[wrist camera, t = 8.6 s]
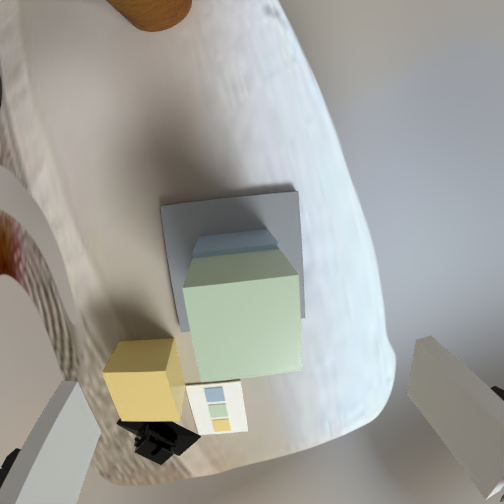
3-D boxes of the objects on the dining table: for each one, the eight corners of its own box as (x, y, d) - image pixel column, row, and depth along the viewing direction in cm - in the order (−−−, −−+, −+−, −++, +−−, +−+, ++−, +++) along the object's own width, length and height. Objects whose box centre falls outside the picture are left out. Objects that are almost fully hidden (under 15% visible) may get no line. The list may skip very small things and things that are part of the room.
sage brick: (192, 258, 22) (182, 288, 16) (279, 248, 22) (298, 274, 16) (205, 335, 23) (201, 382, 18) (284, 325, 24) (302, 369, 18)
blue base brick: (198, 236, 28) (192, 253, 22) (267, 228, 28) (279, 243, 22) (207, 300, 29) (204, 330, 23) (272, 293, 29) (284, 321, 24)
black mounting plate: (215, 435, 35) (215, 461, 31) (185, 461, 36) (183, 485, 32) (127, 387, 32) (117, 412, 28) (103, 418, 33) (94, 442, 29)
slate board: (161, 205, 28) (160, 206, 27) (296, 191, 28) (298, 191, 27) (182, 328, 30) (181, 332, 30) (303, 314, 31) (305, 317, 30)
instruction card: (185, 385, 32) (185, 386, 32) (240, 380, 32) (240, 381, 32) (199, 433, 34) (198, 435, 34) (248, 429, 34) (248, 431, 34)
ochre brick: (119, 340, 30) (102, 372, 25) (174, 337, 31) (165, 370, 25) (134, 386, 32) (121, 421, 26) (185, 384, 32) (180, 420, 26)
